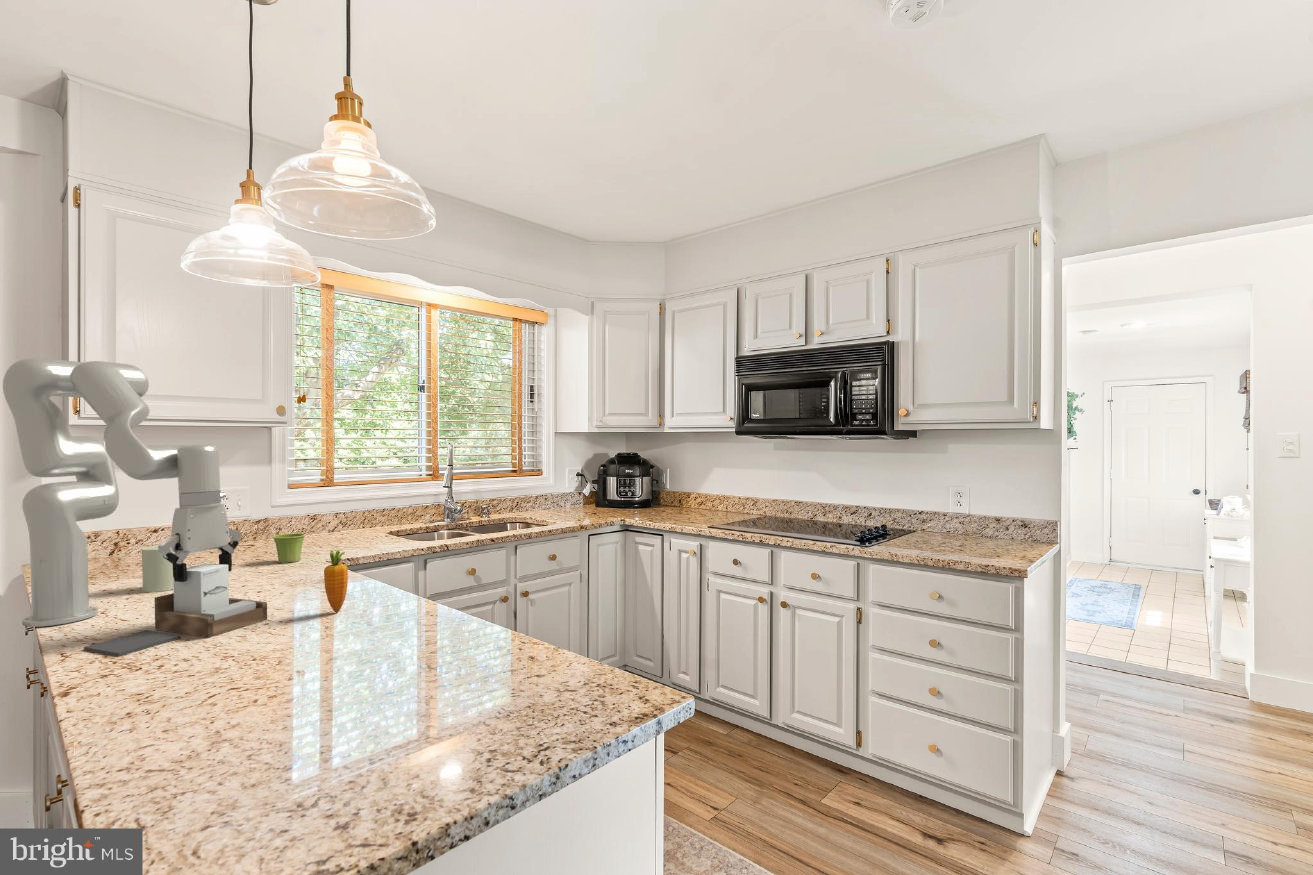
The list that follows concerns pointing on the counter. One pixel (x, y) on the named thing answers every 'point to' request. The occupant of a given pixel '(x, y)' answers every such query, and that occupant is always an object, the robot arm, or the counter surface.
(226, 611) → the upper offcut
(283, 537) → the plant pot
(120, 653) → the rubber mat
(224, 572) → the supplement box
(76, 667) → the counter surface
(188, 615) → the walnut rack
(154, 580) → the can
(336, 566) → the carrot
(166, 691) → the counter surface
